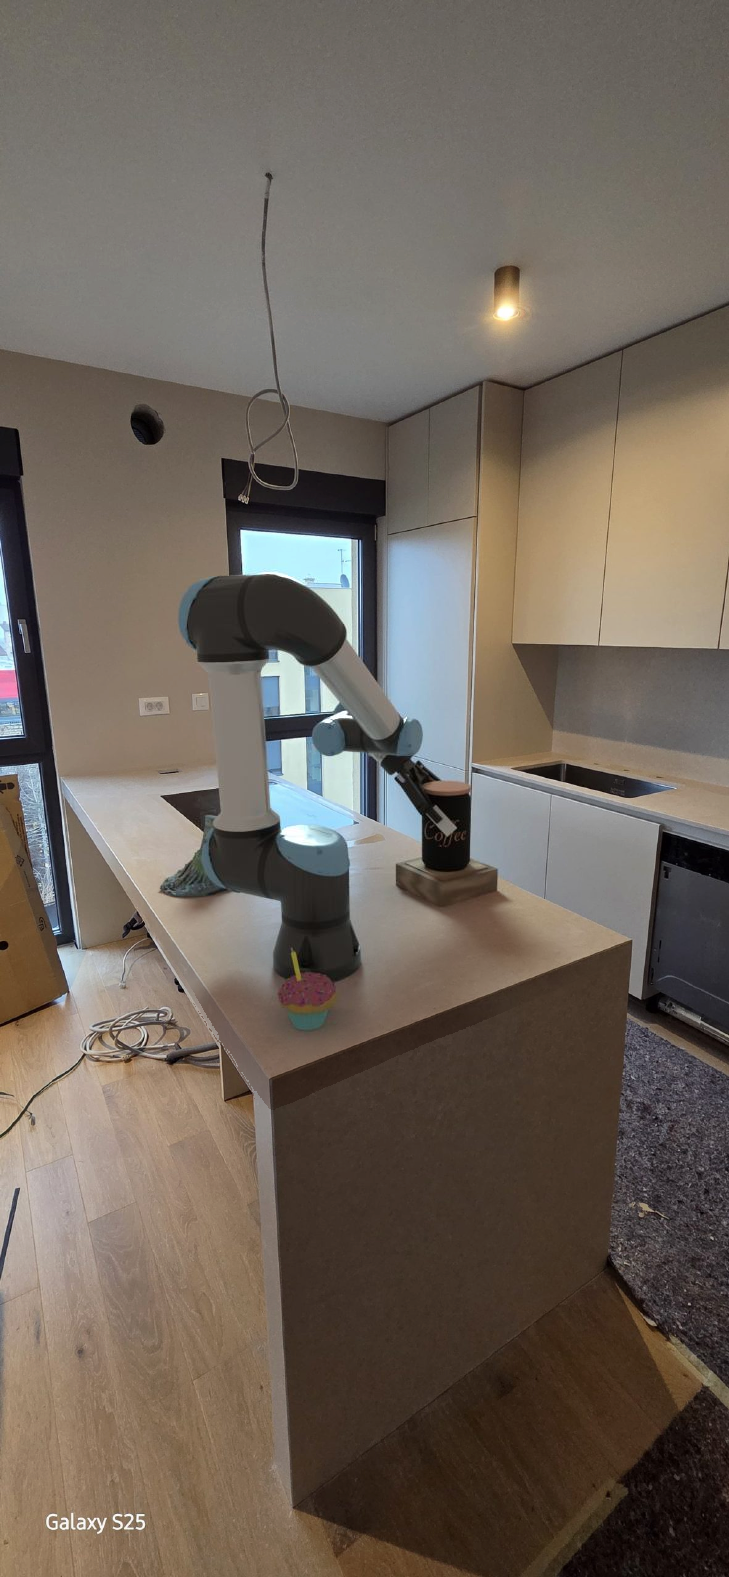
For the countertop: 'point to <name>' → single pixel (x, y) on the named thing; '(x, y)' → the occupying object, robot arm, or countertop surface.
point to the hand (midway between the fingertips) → (458, 824)
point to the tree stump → (193, 874)
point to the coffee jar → (457, 808)
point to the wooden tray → (446, 881)
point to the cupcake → (307, 997)
